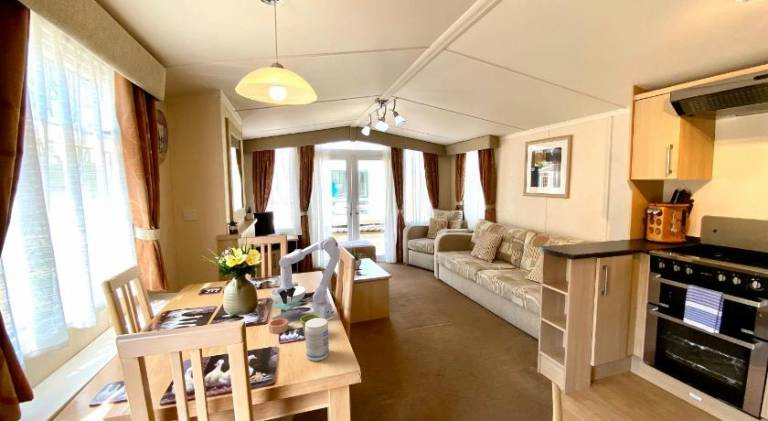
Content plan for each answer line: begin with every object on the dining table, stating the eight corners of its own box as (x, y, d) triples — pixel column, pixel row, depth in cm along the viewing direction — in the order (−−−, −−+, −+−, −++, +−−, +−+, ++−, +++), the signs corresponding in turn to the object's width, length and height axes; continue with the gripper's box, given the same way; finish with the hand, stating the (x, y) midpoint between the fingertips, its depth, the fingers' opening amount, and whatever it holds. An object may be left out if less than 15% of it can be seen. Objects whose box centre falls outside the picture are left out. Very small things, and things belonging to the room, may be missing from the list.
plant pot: (324, 333, 157) (324, 315, 156) (312, 341, 149) (312, 323, 148) (309, 329, 161) (308, 312, 160) (296, 337, 152) (296, 320, 152)
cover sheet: (302, 303, 176) (301, 296, 175) (286, 310, 166) (286, 302, 166) (288, 299, 181) (287, 292, 181) (272, 306, 172) (272, 299, 172)
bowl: (291, 328, 162) (291, 320, 162) (277, 336, 154) (277, 328, 154) (279, 324, 167) (279, 317, 166) (265, 331, 159) (264, 323, 158)
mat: (305, 315, 177) (305, 314, 177) (287, 324, 166) (287, 324, 166) (289, 310, 184) (288, 310, 184) (270, 319, 173) (270, 318, 173)
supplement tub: (329, 360, 133) (328, 326, 132) (306, 363, 131) (304, 328, 130) (328, 348, 143) (327, 316, 141) (306, 351, 141) (305, 318, 139)
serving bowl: (300, 308, 188) (300, 296, 188) (265, 308, 189) (265, 296, 188) (309, 295, 209) (309, 285, 208) (277, 295, 209) (277, 285, 209)
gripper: (291, 273, 181) (292, 296, 182) (270, 280, 168) (271, 305, 169) (300, 275, 177) (301, 299, 178) (279, 282, 165) (280, 308, 166)
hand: (287, 302), depth 174 cm, fingers closed on cover sheet, 3 cm apart
